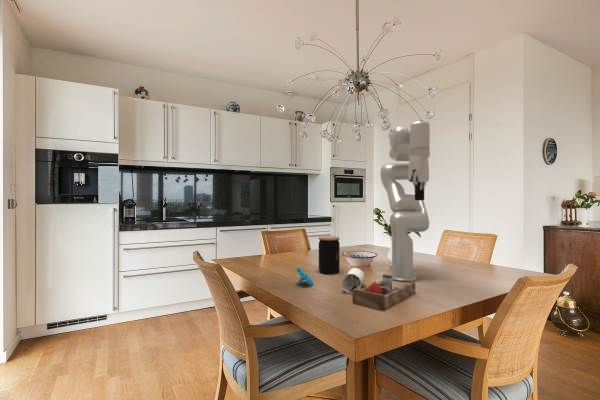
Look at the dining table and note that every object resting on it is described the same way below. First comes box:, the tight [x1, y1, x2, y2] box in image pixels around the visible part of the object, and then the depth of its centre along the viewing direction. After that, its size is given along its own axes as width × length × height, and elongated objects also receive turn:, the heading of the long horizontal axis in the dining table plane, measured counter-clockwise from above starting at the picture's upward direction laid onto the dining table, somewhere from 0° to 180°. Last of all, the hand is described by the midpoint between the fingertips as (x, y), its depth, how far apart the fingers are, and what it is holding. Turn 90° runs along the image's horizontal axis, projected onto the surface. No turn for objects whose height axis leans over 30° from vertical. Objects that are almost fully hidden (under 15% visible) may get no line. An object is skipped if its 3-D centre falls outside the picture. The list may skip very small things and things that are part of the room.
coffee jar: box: [318, 235, 341, 275], centre depth 168 cm, size 11×11×18 cm
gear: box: [295, 267, 314, 286], centre depth 144 cm, size 11×6×10 cm
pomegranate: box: [367, 280, 383, 294], centre depth 118 cm, size 6×6×8 cm
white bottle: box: [340, 267, 366, 294], centre depth 139 cm, size 8×19×8 cm, turn 162°
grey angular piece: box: [380, 273, 399, 295], centre depth 125 cm, size 13×7×8 cm, turn 139°
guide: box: [352, 279, 416, 312], centre depth 125 cm, size 28×12×5 cm, turn 139°
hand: (419, 200), depth 129 cm, fingers closed
